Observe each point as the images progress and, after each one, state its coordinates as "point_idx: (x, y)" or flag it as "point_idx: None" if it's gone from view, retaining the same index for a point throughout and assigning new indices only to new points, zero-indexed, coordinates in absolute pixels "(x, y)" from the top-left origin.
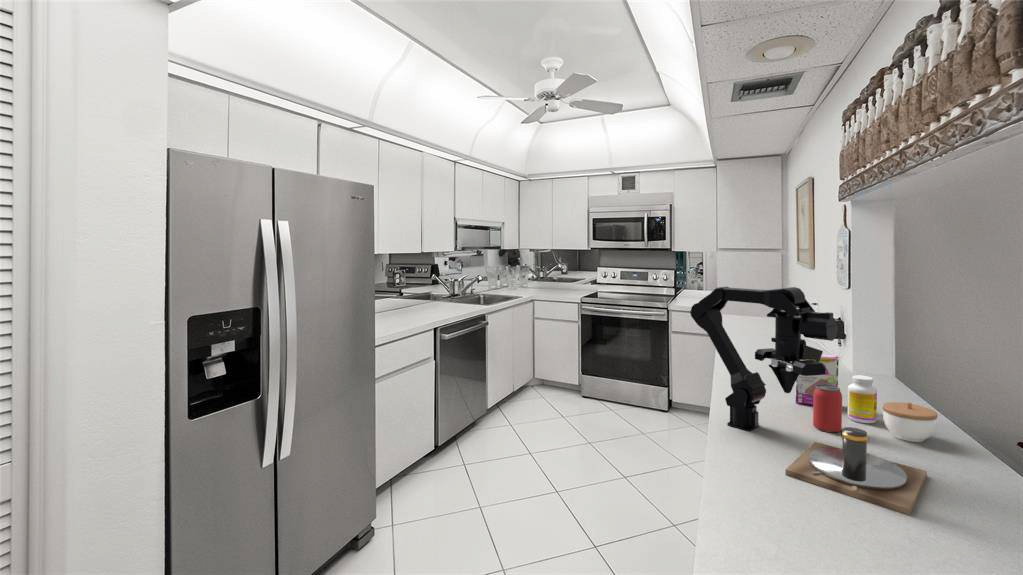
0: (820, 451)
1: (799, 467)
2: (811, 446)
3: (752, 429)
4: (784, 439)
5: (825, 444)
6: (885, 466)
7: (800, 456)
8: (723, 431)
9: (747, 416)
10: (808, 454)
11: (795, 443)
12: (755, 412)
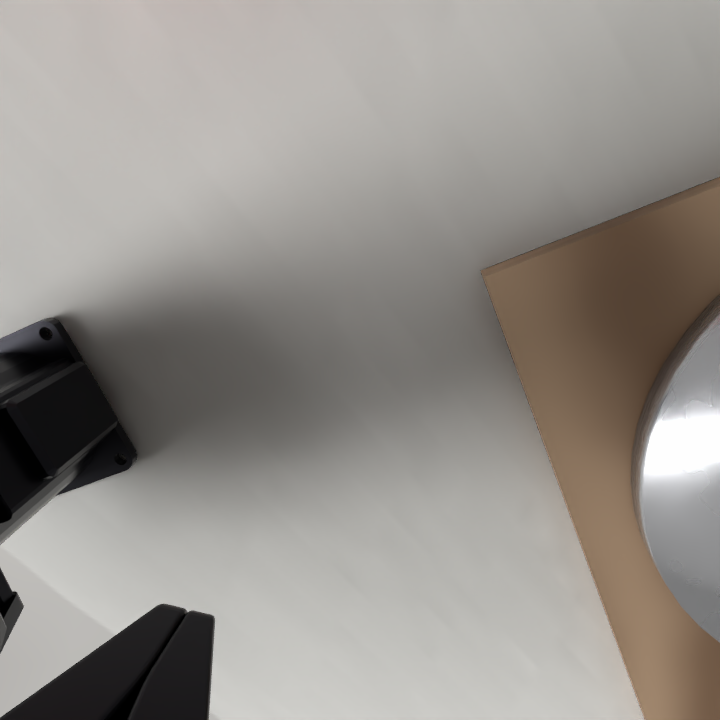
0: (680, 490)
1: (681, 680)
2: (530, 378)
3: (122, 429)
4: (313, 360)
5: (557, 250)
6: None
7: (595, 566)
8: (98, 585)
9: (44, 493)
10: (603, 505)
11: (390, 351)
12: (25, 446)
